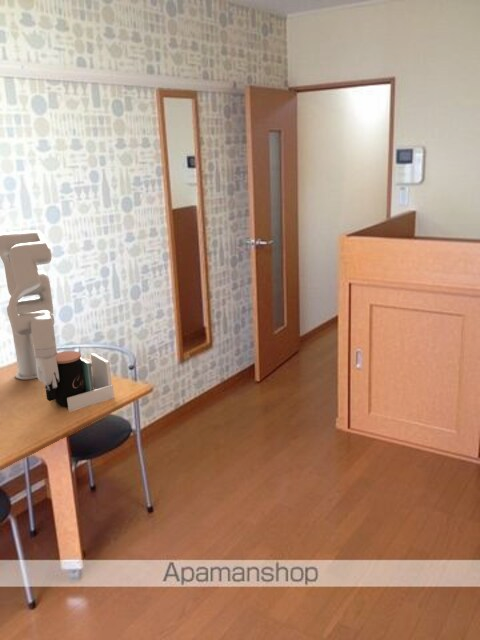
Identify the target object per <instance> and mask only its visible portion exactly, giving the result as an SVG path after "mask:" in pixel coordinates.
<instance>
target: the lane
mask: <svg viewBox="0 0 480 640" xmlns="http://www.w3.org/2000/svg"><path fill="white" fill-rule="evenodd" d="M90 359H91V361H92V369H93V375H92V381H93V390H92V391H89V392H85V393H82V394H78V395H75V396H72V397H68V398H67V403H68V407H67V409H68V412H69V413H71V412H73V411H77V410H80V409H84V408H86V407H90V406H92V405H95V404H99V403H103V402H106V401H109V400H112V399H115V392H114V385H113V384H112V375H111V366H110V360H109V361H108V360H107V359H105V358H103V357H102V356H99V355H98V354H97V353H94V352H92V353H90Z"/></svg>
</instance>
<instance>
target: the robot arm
mask: <svg viewBox="0 0 480 640" xmlns="http://www.w3.org/2000/svg"><path fill="white" fill-rule="evenodd" d="M0 259H1V261H2V263H3V266H4V272H5V279H6V284H7V291H8V294H9V295H10V299H9V301H8V305H7V306H6V312H7V317H8V320H9V322H10V323H9V324H10V326H11V331H12V336H13V343H14V350H15V356H16V363H17V364H16V365H17V368H18V369H17V371H16V372H15V373H14V377H15V378H16V379H19V380H25V381H27V380H33V379H34V380H35V379H38V381H39V382H41V383H42V384H44V389H45V394H46V395H45V397H46V400H47V401H48V402H52V401H56V399H57V392H56V388H57V383H59V381H60V378H59V370H58V365H57V360H56V355H57V353H58V349H57V341H56V335H55V327H54V325H55V318H54V306H53V305H54V304H53V299H52V298H53V297H52V290H51V283H50V282H51V281H50V278H49V276H48V274H47V273H46V271H44V270H38V266H40V265H41V266H42V265H47V264H50V263H51V262H52V251H51V247H50V245H49V243H48V241H47V239H46V237H45V236H44V234H43V233H42V232H41V231H40V230H35V229H34V230H33V229H32V230H22V231H21V230H20V231H10V232H3V233H0ZM32 296H38V297H32ZM23 297H31V298H24V299H23ZM56 382H57V383H56Z"/></svg>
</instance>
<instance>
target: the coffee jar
mask: <svg viewBox="0 0 480 640" xmlns="http://www.w3.org/2000/svg"><path fill="white" fill-rule="evenodd" d="M81 356H82V354H81V352H80V351H79V352H78V351H75V350H67V351H65V350H64V351H60V352H57V355H56V360H57V365H58V370H59V378H60V381H59V383H57V382H56V383H57V388H56V392H57V399H56V400H55V403H56V404H57V405H58V406H59V407H61V408H67V409H68V403H67V398H68V397H72V396H75V395H78V394H82V393H85V387H84V378H83V370H82V362H81V359H80V357H81Z"/></svg>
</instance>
